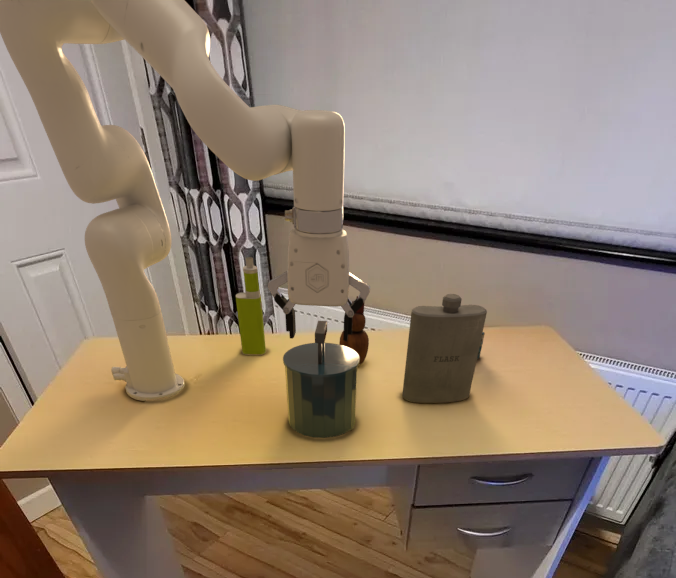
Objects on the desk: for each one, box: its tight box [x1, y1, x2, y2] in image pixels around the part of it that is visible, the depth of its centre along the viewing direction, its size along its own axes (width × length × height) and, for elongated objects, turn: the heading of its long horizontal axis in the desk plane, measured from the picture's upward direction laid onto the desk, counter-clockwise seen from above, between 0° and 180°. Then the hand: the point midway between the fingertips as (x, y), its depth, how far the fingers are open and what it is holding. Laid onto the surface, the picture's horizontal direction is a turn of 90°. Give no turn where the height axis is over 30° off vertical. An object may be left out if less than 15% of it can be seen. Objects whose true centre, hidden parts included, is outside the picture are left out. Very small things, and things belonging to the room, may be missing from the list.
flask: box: [401, 293, 488, 404], centre depth 104 cm, size 15×6×20 cm, turn 96°
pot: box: [284, 366, 358, 439], centre depth 99 cm, size 13×13×12 cm
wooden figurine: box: [338, 295, 370, 366], centre depth 117 cm, size 7×6×15 cm
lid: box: [282, 320, 360, 377], centre depth 92 cm, size 14×14×6 cm
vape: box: [235, 256, 267, 356], centre depth 119 cm, size 4×6×20 cm, turn 88°
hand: (319, 337), depth 91 cm, fingers open, 9 cm apart
